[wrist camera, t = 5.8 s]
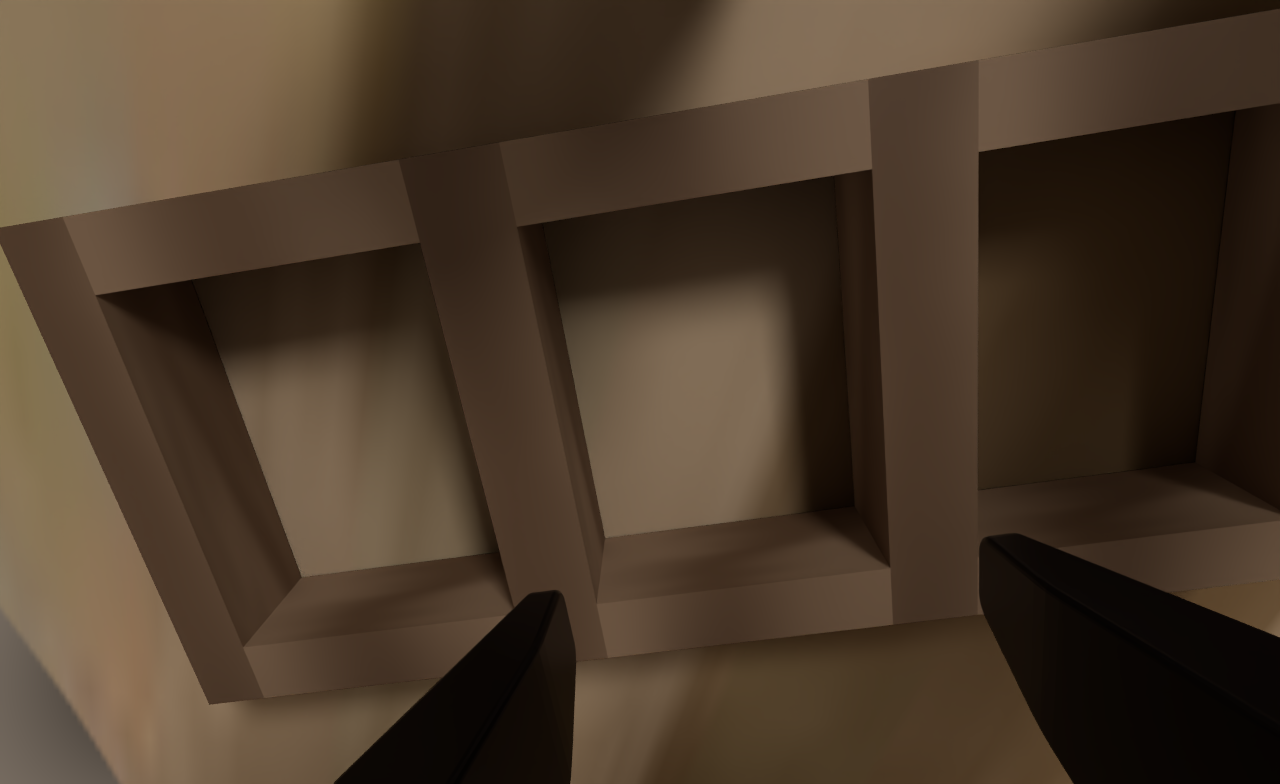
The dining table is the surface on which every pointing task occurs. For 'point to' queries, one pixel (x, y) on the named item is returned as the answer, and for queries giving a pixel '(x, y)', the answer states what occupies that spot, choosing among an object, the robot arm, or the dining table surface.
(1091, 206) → the dining table surface
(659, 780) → the dining table surface
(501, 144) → the rail
